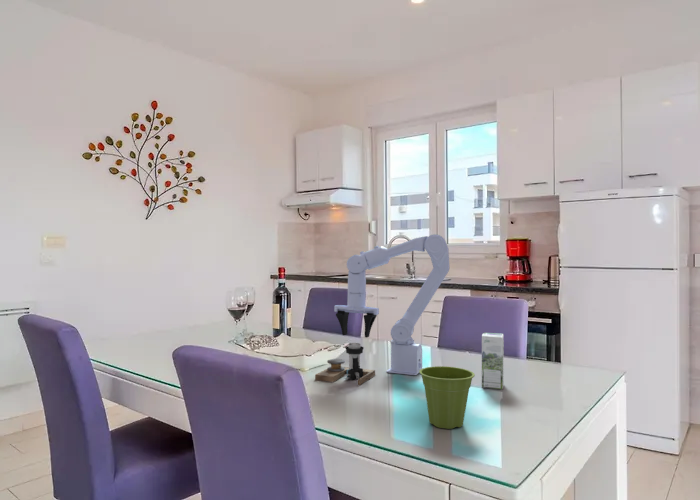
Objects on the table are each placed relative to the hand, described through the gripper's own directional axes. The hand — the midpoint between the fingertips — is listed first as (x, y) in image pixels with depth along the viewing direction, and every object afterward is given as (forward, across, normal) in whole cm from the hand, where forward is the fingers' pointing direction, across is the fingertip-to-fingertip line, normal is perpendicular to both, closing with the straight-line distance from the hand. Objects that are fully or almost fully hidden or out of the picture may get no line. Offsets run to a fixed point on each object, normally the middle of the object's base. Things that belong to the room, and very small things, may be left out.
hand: (355, 335), depth 157 cm
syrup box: (+10, +43, -3) cm, 44 cm away
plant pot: (+10, +38, -37) cm, 54 cm away
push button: (+11, +4, -11) cm, 16 cm away
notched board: (+10, +2, -11) cm, 15 cm away
